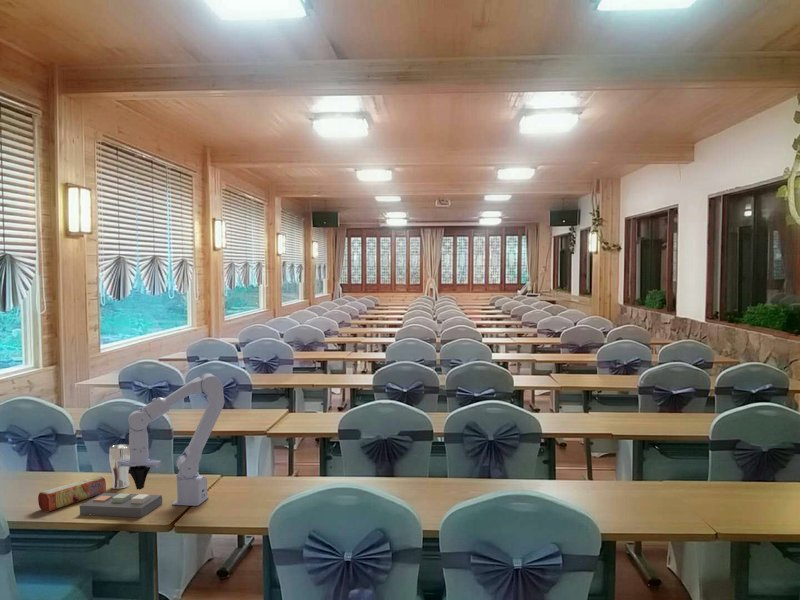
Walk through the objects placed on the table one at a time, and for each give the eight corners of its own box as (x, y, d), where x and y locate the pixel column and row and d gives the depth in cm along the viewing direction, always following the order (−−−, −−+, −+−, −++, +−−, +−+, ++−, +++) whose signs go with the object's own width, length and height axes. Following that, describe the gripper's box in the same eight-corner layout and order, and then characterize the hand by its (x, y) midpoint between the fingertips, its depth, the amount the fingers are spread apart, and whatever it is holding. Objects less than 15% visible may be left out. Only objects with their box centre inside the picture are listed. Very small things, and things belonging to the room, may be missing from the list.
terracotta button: (112, 504, 202) (111, 496, 202) (104, 509, 198) (104, 500, 198) (101, 504, 203) (101, 495, 202) (93, 508, 199) (93, 499, 198)
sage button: (130, 502, 201) (130, 493, 201) (123, 507, 197) (123, 498, 197) (120, 502, 201) (119, 493, 201) (112, 506, 197) (112, 497, 197)
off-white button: (150, 503, 199) (149, 494, 199) (142, 507, 196) (142, 498, 195) (139, 503, 200) (138, 494, 200) (131, 507, 196) (131, 498, 196)
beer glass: (123, 490, 218) (121, 449, 218) (106, 489, 220) (104, 448, 219) (135, 483, 225) (133, 444, 225) (118, 482, 226) (117, 443, 226)
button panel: (162, 503, 203) (162, 495, 203) (141, 517, 191) (141, 508, 191) (104, 501, 207) (103, 492, 207) (79, 514, 195) (79, 505, 195)
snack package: (96, 491, 219) (96, 472, 218) (108, 493, 215) (107, 475, 215) (37, 510, 200) (36, 490, 200) (48, 514, 197) (47, 493, 197)
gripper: (111, 450, 195) (112, 491, 195) (151, 451, 192) (153, 493, 192) (124, 444, 202) (126, 484, 202) (164, 445, 199) (165, 486, 199)
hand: (140, 488), depth 198 cm, fingers closed
